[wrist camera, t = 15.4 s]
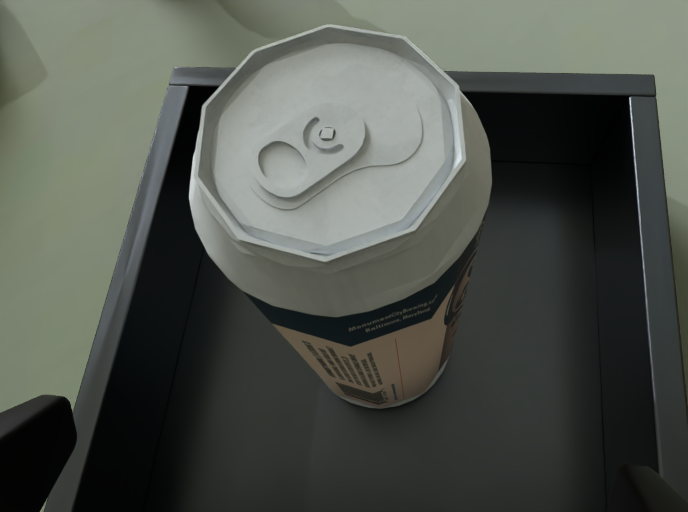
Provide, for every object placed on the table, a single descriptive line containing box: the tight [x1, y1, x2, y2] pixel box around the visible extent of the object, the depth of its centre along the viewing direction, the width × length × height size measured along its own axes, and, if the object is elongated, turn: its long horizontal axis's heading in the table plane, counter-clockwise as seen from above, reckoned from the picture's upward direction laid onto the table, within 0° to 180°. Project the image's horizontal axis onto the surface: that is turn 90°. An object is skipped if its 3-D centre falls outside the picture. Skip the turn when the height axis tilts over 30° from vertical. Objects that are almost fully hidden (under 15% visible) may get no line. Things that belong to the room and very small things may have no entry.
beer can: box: [189, 24, 492, 409], centre depth 13 cm, size 5×5×12 cm
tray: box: [44, 67, 688, 512], centre depth 17 cm, size 16×16×5 cm
